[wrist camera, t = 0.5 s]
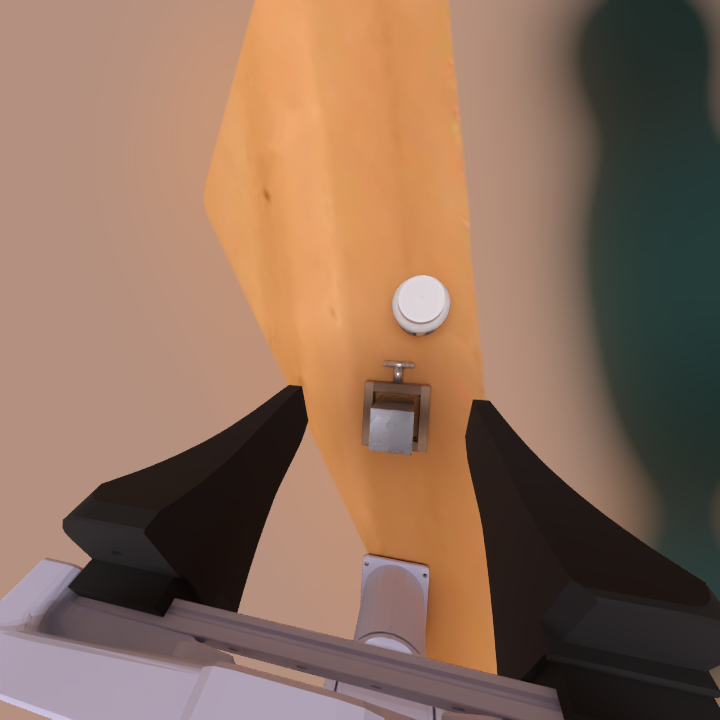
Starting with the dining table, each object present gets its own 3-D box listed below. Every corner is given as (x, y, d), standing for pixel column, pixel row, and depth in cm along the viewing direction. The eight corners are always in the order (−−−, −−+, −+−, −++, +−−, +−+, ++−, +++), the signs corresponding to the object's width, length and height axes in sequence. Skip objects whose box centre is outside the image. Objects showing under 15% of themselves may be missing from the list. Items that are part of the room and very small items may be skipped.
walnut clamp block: (425, 446, 33) (426, 452, 31) (364, 439, 35) (361, 444, 33) (431, 363, 33) (432, 363, 31) (368, 359, 34) (366, 359, 32)
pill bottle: (441, 287, 32) (452, 261, 23) (444, 334, 33) (457, 327, 23) (394, 293, 34) (386, 270, 24) (398, 338, 34) (391, 333, 24)
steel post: (412, 430, 34) (411, 455, 26) (379, 427, 34) (368, 450, 27) (414, 397, 33) (414, 412, 26) (380, 394, 34) (370, 408, 26)
